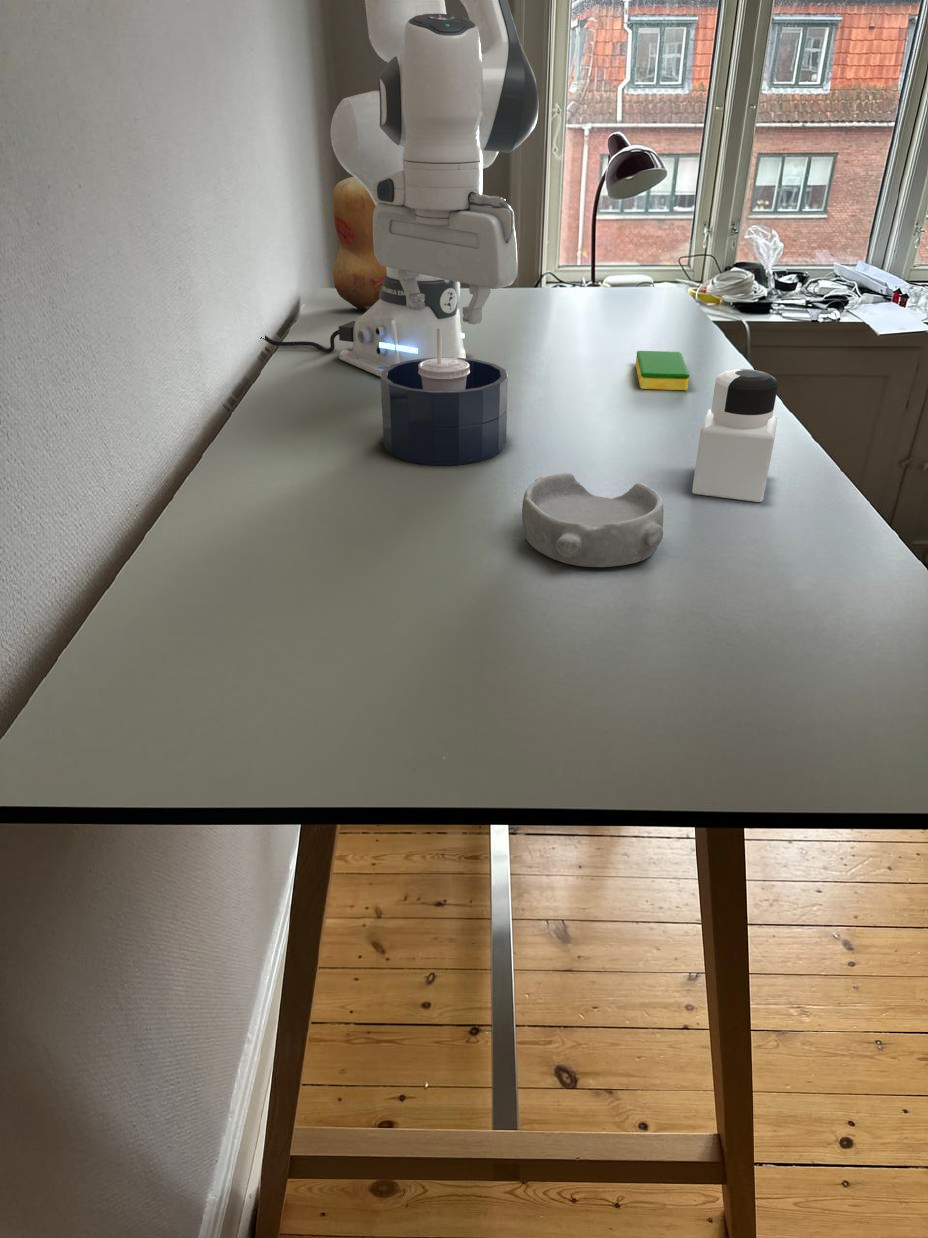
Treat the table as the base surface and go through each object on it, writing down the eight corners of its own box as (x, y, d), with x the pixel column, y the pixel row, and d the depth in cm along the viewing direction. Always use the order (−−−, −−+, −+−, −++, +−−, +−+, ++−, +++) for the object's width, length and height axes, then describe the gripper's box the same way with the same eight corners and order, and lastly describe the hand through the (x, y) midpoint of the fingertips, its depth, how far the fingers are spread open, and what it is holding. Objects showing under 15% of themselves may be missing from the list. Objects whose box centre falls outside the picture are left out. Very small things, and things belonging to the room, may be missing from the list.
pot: (359, 444, 114) (354, 374, 109) (443, 416, 124) (442, 350, 119) (446, 475, 105) (445, 400, 100) (530, 442, 115) (532, 372, 110)
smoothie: (418, 432, 117) (416, 322, 109) (467, 430, 117) (467, 321, 110) (420, 449, 111) (418, 335, 104) (471, 447, 112) (472, 333, 104)
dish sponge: (679, 366, 146) (681, 351, 145) (687, 390, 134) (689, 374, 133) (635, 364, 147) (636, 350, 145) (640, 389, 135) (641, 373, 134)
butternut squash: (323, 308, 184) (312, 174, 171) (374, 299, 191) (368, 170, 178) (364, 319, 175) (356, 178, 162) (416, 309, 183) (412, 174, 170)
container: (765, 478, 104) (786, 367, 97) (762, 503, 98) (784, 387, 91) (698, 470, 106) (714, 361, 100) (691, 494, 100) (707, 379, 93)
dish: (519, 512, 96) (521, 469, 93) (648, 514, 95) (653, 470, 93) (523, 576, 83) (524, 527, 81) (671, 578, 83) (677, 529, 80)
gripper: (532, 195, 95) (526, 326, 103) (400, 178, 107) (404, 297, 114) (494, 200, 91) (490, 336, 99) (361, 183, 103) (367, 306, 110)
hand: (443, 315), depth 107 cm, fingers open, 8 cm apart
